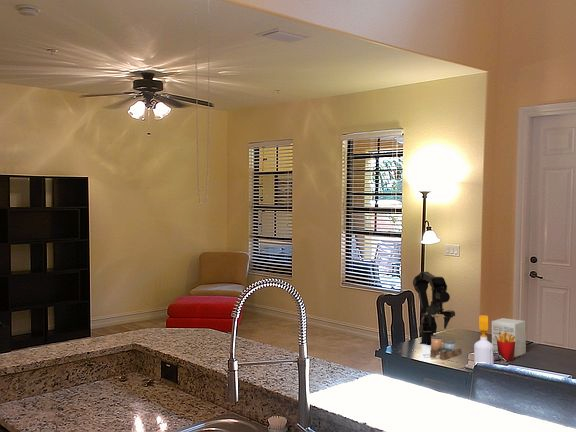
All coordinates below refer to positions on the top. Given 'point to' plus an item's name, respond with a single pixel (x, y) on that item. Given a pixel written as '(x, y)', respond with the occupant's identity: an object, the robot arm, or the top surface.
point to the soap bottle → (483, 343)
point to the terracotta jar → (435, 341)
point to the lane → (444, 355)
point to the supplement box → (510, 327)
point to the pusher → (445, 349)
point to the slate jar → (449, 344)
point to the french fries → (506, 346)
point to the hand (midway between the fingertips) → (437, 327)
